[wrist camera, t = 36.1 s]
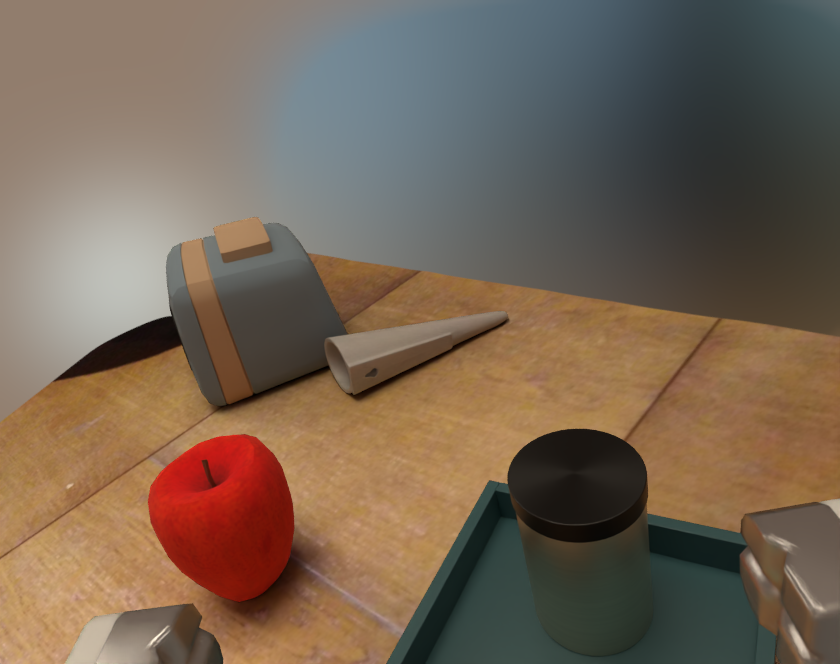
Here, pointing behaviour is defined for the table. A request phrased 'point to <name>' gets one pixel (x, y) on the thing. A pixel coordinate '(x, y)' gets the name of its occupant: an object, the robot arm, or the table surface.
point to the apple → (225, 515)
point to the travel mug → (585, 538)
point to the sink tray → (518, 622)
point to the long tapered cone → (398, 348)
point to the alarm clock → (249, 309)
